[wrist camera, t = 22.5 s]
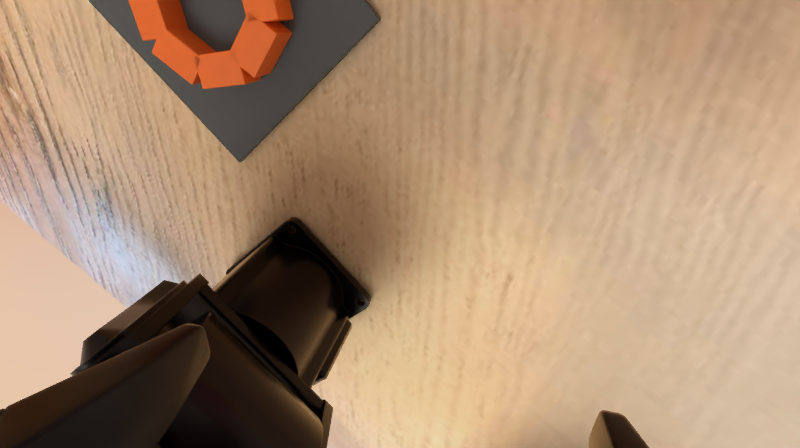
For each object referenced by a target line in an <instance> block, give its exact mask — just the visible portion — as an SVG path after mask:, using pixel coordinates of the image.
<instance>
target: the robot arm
mask: <svg viewBox="0 0 800 448" xmlns="http://www.w3.org/2000/svg"><path fill="white" fill-rule="evenodd" d="M291 225H293V226H294V227H295V228H296V230H294V229H292V227H291ZM208 283H209V282H208V281H207V280H206V279H205V278H204V277H203V276H202V275H201V274H199V275H197V276H196V277H195V278H194V279H192V280H191V281H190V282H189V283H186V282H185V281H182V282H181V283H180V284H178V283H173V282H169V281H165V280H164V281H163V282H161V283H160V284H159V285H158V286H156V287H155V288H154V289H152V290H151V291H150V292H149V293H147V294H146V295H145V296H143V297H142V298H141V299H139V300H138V301H137V302H136V303H134V304H133V305H132V306H130V307H129V308H127V309H126V310H125V311H124V312H122V313H121V314H119V315H118V316H117V317H115V318H114V319H112V320H111V321H110V322H108V323H107V324H105V325H104V326H103V327H101V328H100V329H99V330H97V331H96V332H95V333H93V334H92V335H91V336H90V337H88V338H87V339H86V340H85V341H84V342H83V348H82V356H81V364H80V366H79V367H77V368H76V369H75V370H74V371H73V372H72V373H71V375H72V377H70V378H68V379H65V380H63V381H61V382H59V383H57V384H55V385H53V386H50V387H48V388H46V389H44V390H42V391H40V392H38V393H35V394H33V395H31V396H29V397H27V398H25V399H22V400H20V401H18V402H16V403H14V404H12V405H10V406H8V407H7V408H6V409H1V410H0V448H327V442H328V436H329V430H330V424H331V417H332V411H333V407H332V406H331V405H330V404H329V403H328V402H327V401H326V400H322V399H321V398H320V397H319V396H318V395H317V394H316V393H315V392H314V391H313V390H312V389H311V387H312V386H313V385H315V384H317V383H318V382H320V381H322V380H324V379H326V378H327V376H328V374H329V372H330V370H331V368H332V366H333V364H334V362H335V360H336V358H337V356H338V354H339V352H340V350H341V348H342V346H343V344H344V342H345V340H346V338H347V336H348V334H349V332H350V330H351V325H352V323H351V322H350V321H349V320H348V319H349V318H351V317H353V316H354V315H356V314H358V313H359V312H361V311H363V310H364V309H366V308H367V307H368V306H369V304H370V301H371V297H370V295H369V294H368V293H367V292H366V291H365V289H364V288H363V287H362V286H361V285H360V284H359V283H358V282H357V281H356V280H355V279H354V278H353V277H352V275H351V274H350V273H349V272H348V271H347V270H346V269H345V268H344V267H343V266H342V265H341V264H340V263H339V261H338V260H337V259H336V258H335V257H334V256H333V255H332V254H331V253H330V252H329V251H328V250H327V249H326V247H325V246H324V245H323V244H322V243H321V242H320V241H319V240H318V239H317V238H316V237H315V236H314V235H313V234H312V232H311V231H310V230H309V229H308V228H307V227H306V226H305V225H304V224H303V223H302V222H301V221H300V220H299V219H297V218H295V217H291V218H289V219H288V220H286V221H285V222H284V223H283V224H282V225H280V226H279V227H278V228H277V229H276V230H274V231H273V232H272V233H271V234H270V235H269V236H267V237H266V238H265V239H264V240H263V241H261V242H260V243H259V244H258V245H257V246H255V247H254V248H253V249H252V250H251V251H249V252H248V253H247V254H246V255H245V256H243V257H242V258H241V259H240V260H239V261H237V262H236V263H235V264H234V265H233V266H231V267H230V268H229V269H228V270H227V272H226V276H225V277H224V278H223V279H222V280H221V281H220V282H219V283H218V284H217V285H216V286H215V287H214V288H211V287H210V286H209V285H208ZM359 298H360V299H363V300H364V302H363V301H360V300H359ZM589 448H649V447H648V446H647V444H646V443H645V442H644V440H643V439H642V438H641V437H640V435H639V434H638V433H637V431H636V430H635V429H634V428H633V426H632V425H631V424H630V422H629V421H628V420H627V419H626V417H625V416H623V415H622V414H619V413H615V412H610V411H605V410H602V411H600V412H599V414H598V416H597V419H596V421H595V424H594V426H593V429H592V432H591V434H590V438H589Z"/></svg>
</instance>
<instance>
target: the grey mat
mask: <svg viewBox="0 0 800 448" xmlns="http://www.w3.org/2000/svg"><path fill="white" fill-rule="evenodd" d="M89 2H90V3H91V4H92V5H93V6H94V7H95V8H96V9H97V10H98V11H99V12H100V13H101V14H102V15H103V17H104V18H105V19H106V20H107V21H108V22H109V23H110V24H111V25H112V26H113V27H114V28H115V29H116V30H117V31H118V33H119V34H120V35H121V36H122V37H123V38H124V39H125V40H126V41H127V42H128V43H129V44H130V45H131V46H132V48H133V49H134V50H135V51H136V52H137V53H138V54H139V55H140V56H141V57H142V58H143V59H144V60H145V61H146V63H147V64H148V65H149V66H150V67H151V68H152V69H153V70H154V71H155V72H156V73H157V74H158V75H159V76H160V78H161V79H162V80H163V81H164V82H165V83H166V84H167V85H168V86H169V87H170V88H171V89H172V90H173V91H174V93H175V94H176V95H177V96H178V97H179V98H180V99H181V100H182V101H183V102H184V103H185V104H186V105H187V106H188V108H189V109H190V110H191V111H192V112H193V113H194V114H195V115H196V116H197V117H198V118H199V119H200V120H201V121H202V123H203V124H204V125H205V126H206V127H207V128H208V129H209V130H210V131H211V132H212V133H213V134H214V135H215V136H216V137H217V139H218V140H219V141H220V142H221V143H222V144H223V145H224V146H225V147H226V148H227V149H228V150H229V151H230V152H231V154H232V155H233V156H234V157H235V158H236V159H237V160H238V161H239V162H241V161H243V160H244V159H245V158H246V157H247V156H248V155H249V154H250V153H251V151H252V150H253V149H254V148H255V147H256V146H257V145H258V144H259V143H260V142H261V141H262V140H263V139H264V138H265V137H266V136H267V135H268V134H269V133H270V132H271V131H272V130H273V129H274V128H275V127H276V126H277V125H278V124H279V123H280V122H281V121H282V120H283V119H284V118H285V117H286V116H287V115H288V114H289V113H290V112H291V111H292V110H293V109H294V108H295V107H296V106H297V104H298V103H299V102H300V101H301V100H302V99H303V98H304V97H305V96H306V95H307V94H308V93H309V92H310V91H311V90H312V89H313V88H314V87H315V86H316V85H317V84H318V83H319V82H320V81H321V80H322V79H323V78H324V77H325V76H326V75H327V74H328V73H329V72H330V71H331V70H332V69H333V68H334V67H335V66H336V65H337V64H338V63H339V62H340V61H341V60H342V59H343V57H344V56H345V55H346V54H347V53H348V52H349V51H350V50H351V49H352V48H353V47H354V46H355V45H356V44H357V43H358V42H359V41H360V40H361V39H362V38H363V37H364V36H365V35H366V34H367V33H368V32H369V31H370V30H371V29H372V28H373V27H374V26H375V25H376V24H377V23H378V22H379V21H380V18H379V16H378V15H377V14H376V12H375V11H374V10H373V8H372V7H371V6H370V5H369V3H368V2H367V1H366V0H290V2H291V7H292V12H293V17H294V19H293V20H286V21H280V23H282V24H283V25H284V26H285V27H286V28H288V29H289V30H290V31H291V32H292V35H291V37H290V38H289V40H288V42H287V44H286V46H285V48H284V50H283V51H282V53H281V55H280V57H279V59H278V61H277V62H276V64H275V66H274V68H273V70H272V72H271V73H270V74H267V75H263V76H261V80H260V81H256V82H252V83H249V84H245V85H237V86H228V87H219V88H210V89H203V87H202V84H201V83H198V84H194V85H192V84H190V83H189V82H188V81H186V80H185V79H184V78H183V77H181V76H180V75H179V74H178V73H176V72H175V71H174V70H173V69H171V68H170V67H169V66H168V65H166V64H165V63H164V62H163V61H161V60H160V59H159V58H158V57H156V56H155V55H154V54H153V53H152V50H153V47H154V44H155V42H156V40H149V41H143V40H142V37H141V34H140V31H139V29H138V26H137V23H136V20H135V18H134V15H133V12H132V9H131V6H130V4H129V1H128V0H89ZM180 3H181V6H182V9H183V13H184V16H185V19H186V22H187V25H188V29H189V30H191V31H192V32H193V33H194V34H195V35H197V36H198V37H199V38H200V39H202V40H203V41H204V42H205V43H206V44H208V45H209V46H210V47H211V48H212V49H214V50H215V51H216V52H220V51H227V50H231V47H232V45H233V43H234V41H235V39H236V37H237V35H238V32H239V30H240V28H241V26H242V24H243V22H244V20H245V18H246V14H245V10H244V6H243V2H242V0H180Z"/></svg>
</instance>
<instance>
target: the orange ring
mask: <svg viewBox="0 0 800 448" xmlns="http://www.w3.org/2000/svg"><path fill="white" fill-rule="evenodd" d="M128 1H129V4H130V6H131V9H132V12H133V15H134V18H135V20H136V23H137V26H138V29H139V31H140V34H141V37H142V40H143V41H149V40H156V42H155V44H154V47H153V50H152V53H153V54H154V55H155V56H156V57H158V58H159V59H160V60H161V61H163V62H164V63H165V64H166V65H168V66H169V67H170V68H171V69H173V70H174V71H175V72H176V73H178V74H179V75H180V76H181V77H183V78H184V79H185V80H186V81H188V82H189V83H190V84H192V85H194V84H198V83H201V84H202V87H203V89H210V88H219V87H228V86H237V85H245V84H249V83H252V82H256V81H260V80H261V76H263V75H267V74H270V73H271V72H272V70H273V68H274V66H275V64H276V62H277V61H278V59H279V57H280V55H281V53H282V51H283V50H284V48H285V46H286V44H287V42H288V40H289V38H290V37H291V35H292V32H291V31H290V30H289V29H288V28H286V27H285V26H284V25H283V24H282V23H280V21H286V20H293V19H294V17H293V12H292V7H291V2H290V0H242V2H243V6H244V10H245V14H246V18H245V20H244V22H243V24H242V26H241V28H240V30H239V32H238V35H237V37H236V39H235V41H234V43H233V45H232V47H231V50H227V51H220V52H216V51H215V50H214V49H212V48H211V47H210V46H209V45H208V44H206V43H205V42H204V41H203V40H202V39H200V38H199V37H198V36H197V35H195V34H194V33H193V32H192V31H191V30H189V29H188V25H187V22H186V19H185V16H184V13H183V9H182V6H181V3H180V0H128Z"/></svg>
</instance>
